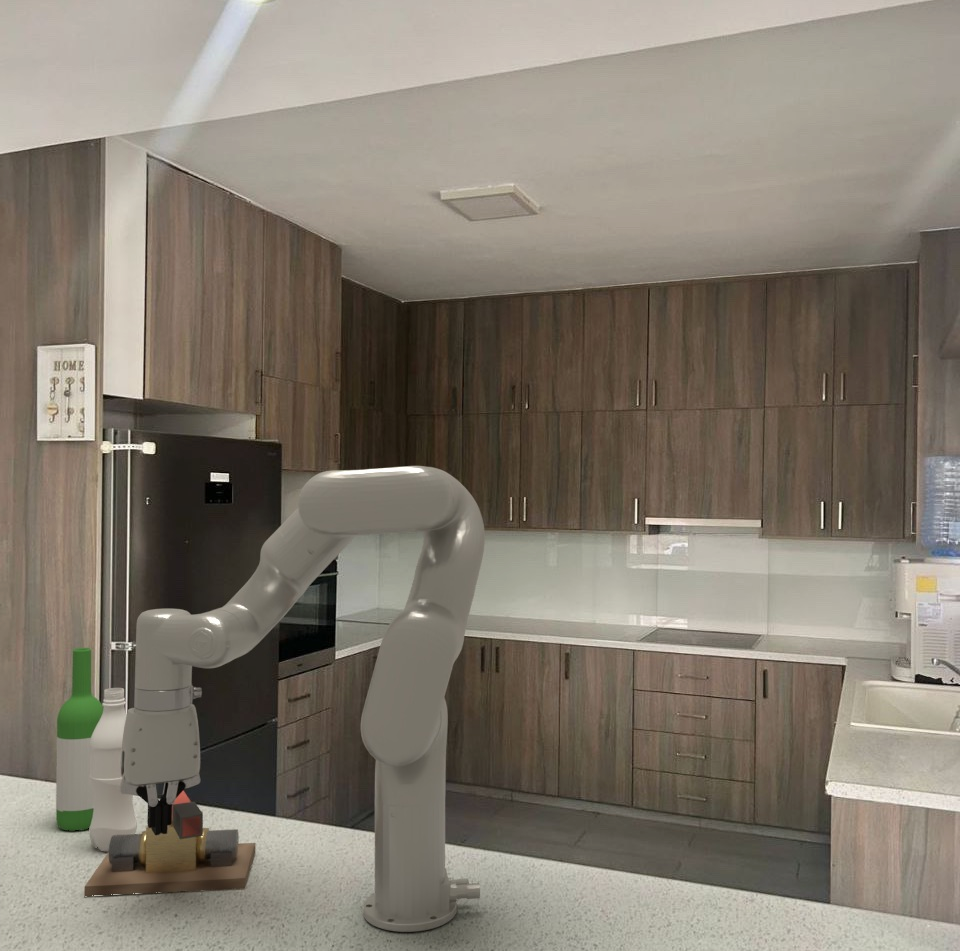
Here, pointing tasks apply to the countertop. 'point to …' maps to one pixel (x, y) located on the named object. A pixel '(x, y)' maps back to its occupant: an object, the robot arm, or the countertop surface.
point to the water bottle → (109, 774)
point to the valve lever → (187, 817)
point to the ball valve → (172, 850)
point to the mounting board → (172, 877)
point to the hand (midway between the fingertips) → (159, 831)
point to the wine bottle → (76, 748)
